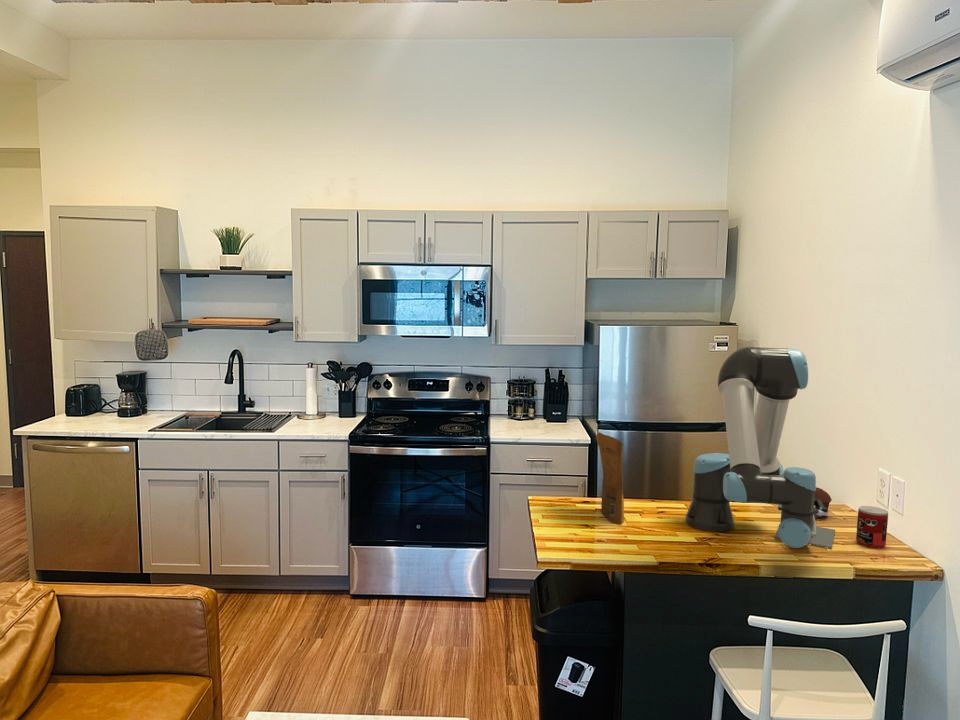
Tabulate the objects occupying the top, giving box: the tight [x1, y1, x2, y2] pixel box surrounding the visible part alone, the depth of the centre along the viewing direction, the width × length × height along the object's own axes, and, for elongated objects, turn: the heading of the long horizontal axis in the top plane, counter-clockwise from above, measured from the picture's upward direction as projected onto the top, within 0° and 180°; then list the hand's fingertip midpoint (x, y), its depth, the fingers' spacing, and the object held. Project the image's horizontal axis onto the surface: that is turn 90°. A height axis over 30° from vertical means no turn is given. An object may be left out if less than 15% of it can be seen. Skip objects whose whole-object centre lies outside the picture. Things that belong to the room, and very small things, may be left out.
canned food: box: [855, 505, 889, 549], centre depth 205 cm, size 8×8×11 cm
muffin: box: [815, 486, 833, 520], centre depth 233 cm, size 12×11×10 cm
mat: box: [773, 525, 836, 549], centre depth 213 cm, size 16×19×1 cm
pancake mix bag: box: [595, 431, 625, 525], centre depth 224 cm, size 7×19×28 cm, turn 8°
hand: (807, 493), depth 202 cm, fingers closed
